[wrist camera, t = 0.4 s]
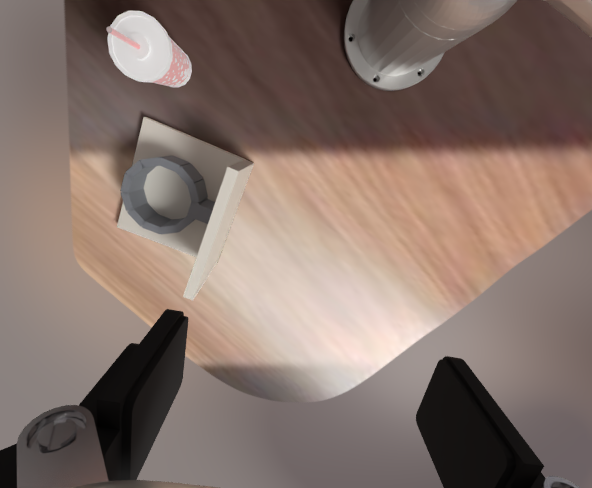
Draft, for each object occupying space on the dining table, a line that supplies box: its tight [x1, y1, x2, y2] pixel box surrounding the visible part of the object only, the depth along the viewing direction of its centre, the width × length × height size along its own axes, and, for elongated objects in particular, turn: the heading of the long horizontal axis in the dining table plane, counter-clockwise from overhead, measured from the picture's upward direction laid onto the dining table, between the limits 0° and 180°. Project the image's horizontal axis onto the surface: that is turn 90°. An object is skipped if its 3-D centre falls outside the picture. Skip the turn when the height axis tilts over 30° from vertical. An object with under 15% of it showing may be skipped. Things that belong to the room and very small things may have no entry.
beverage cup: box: [107, 11, 192, 87], centre depth 32 cm, size 6×6×14 cm
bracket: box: [117, 117, 254, 300], centre depth 38 cm, size 16×15×12 cm
